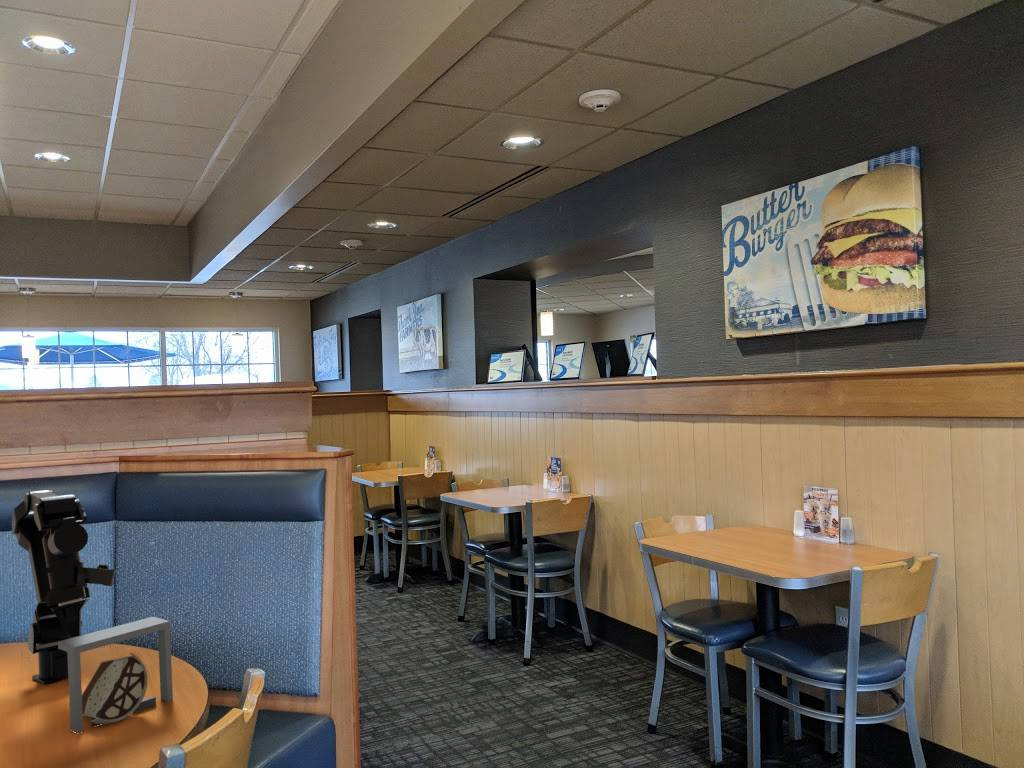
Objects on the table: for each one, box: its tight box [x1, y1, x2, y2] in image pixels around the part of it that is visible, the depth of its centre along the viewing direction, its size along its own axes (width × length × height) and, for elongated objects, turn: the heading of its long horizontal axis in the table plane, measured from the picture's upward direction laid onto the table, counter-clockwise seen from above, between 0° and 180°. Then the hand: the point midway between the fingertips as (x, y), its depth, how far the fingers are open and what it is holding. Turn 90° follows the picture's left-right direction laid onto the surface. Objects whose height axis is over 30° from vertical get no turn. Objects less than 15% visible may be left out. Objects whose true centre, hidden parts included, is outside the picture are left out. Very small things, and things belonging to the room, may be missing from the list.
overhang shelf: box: [58, 616, 174, 734], centre depth 141 cm, size 6×17×15 cm, turn 143°
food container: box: [82, 652, 149, 725], centre depth 141 cm, size 12×6×10 cm
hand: (76, 639), depth 151 cm, fingers closed
